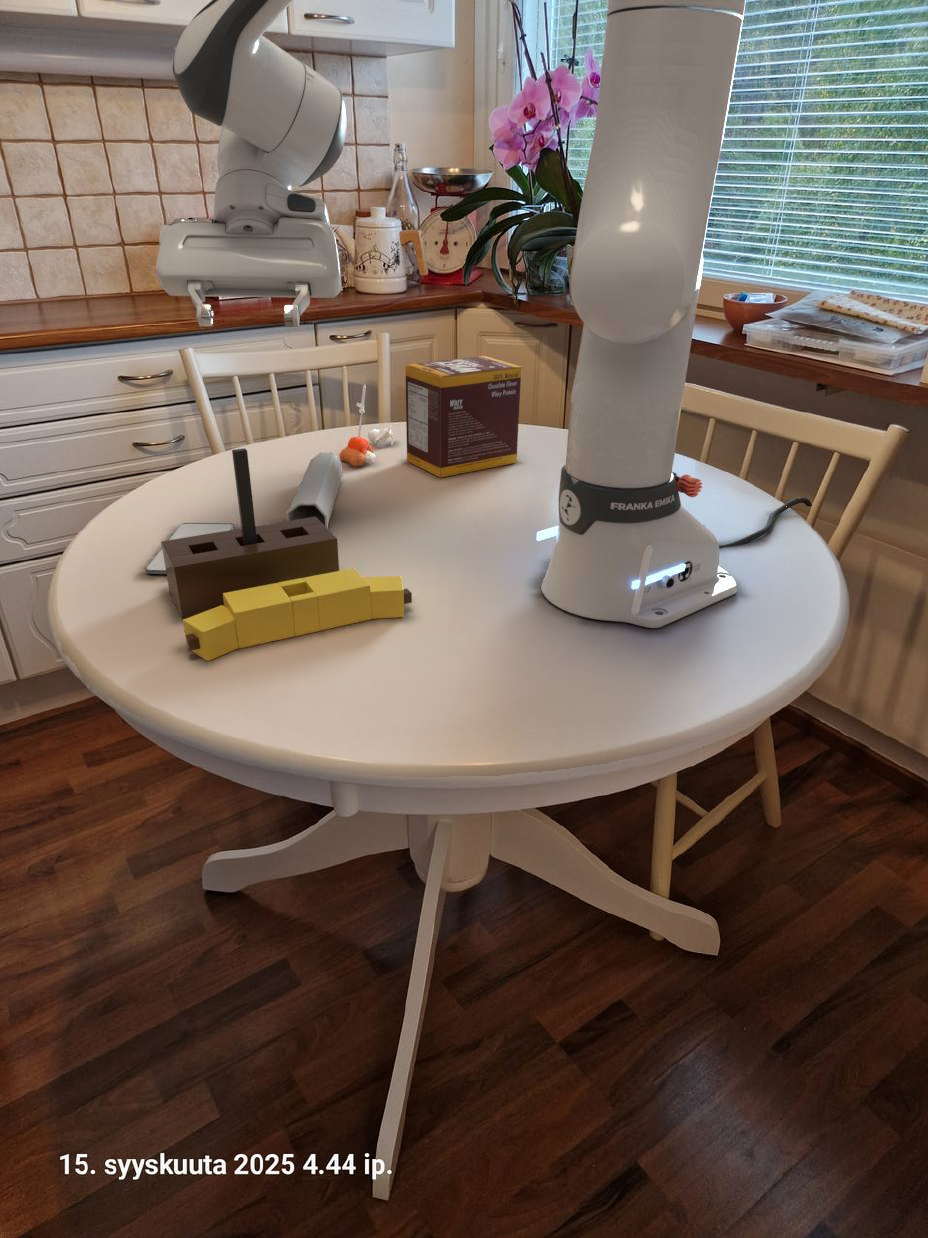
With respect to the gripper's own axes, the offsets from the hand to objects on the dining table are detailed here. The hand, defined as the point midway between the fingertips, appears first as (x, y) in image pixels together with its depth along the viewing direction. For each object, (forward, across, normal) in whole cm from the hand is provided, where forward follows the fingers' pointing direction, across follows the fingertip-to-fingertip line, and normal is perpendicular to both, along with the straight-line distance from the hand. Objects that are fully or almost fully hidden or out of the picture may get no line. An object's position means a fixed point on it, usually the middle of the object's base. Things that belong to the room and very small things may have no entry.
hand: (248, 323), depth 90 cm
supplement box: (-5, +26, +43) cm, 51 cm away
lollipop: (-6, +9, +44) cm, 45 cm away
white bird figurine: (-13, +13, +51) cm, 54 cm away
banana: (+33, +6, +4) cm, 34 cm away
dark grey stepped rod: (+28, 0, +10) cm, 29 cm away
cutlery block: (+28, 0, +10) cm, 29 cm away
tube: (+9, +5, +29) cm, 30 cm away
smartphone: (+20, -9, +18) cm, 28 cm away
